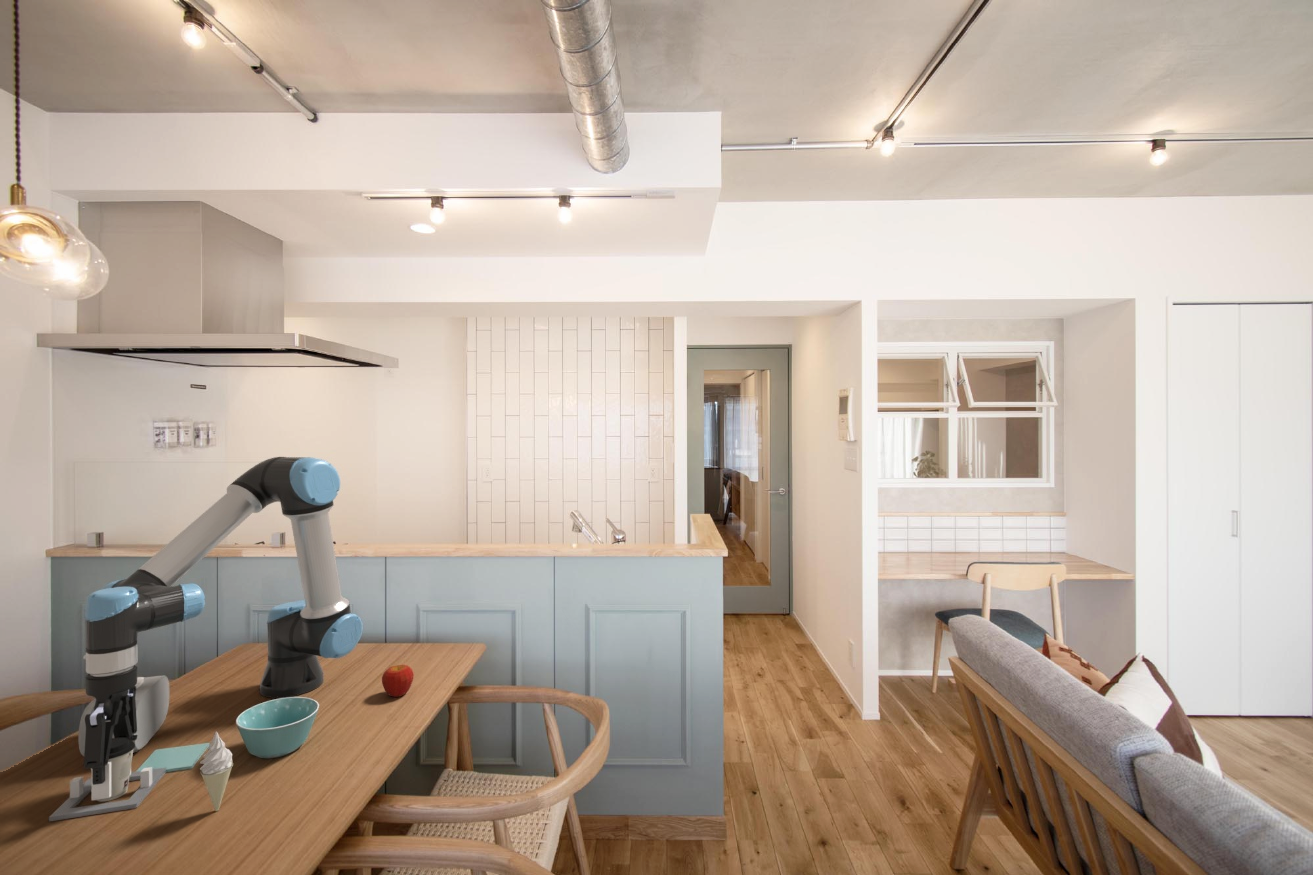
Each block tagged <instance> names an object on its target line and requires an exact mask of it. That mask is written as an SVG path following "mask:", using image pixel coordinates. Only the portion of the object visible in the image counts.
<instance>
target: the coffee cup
mask: <svg viewBox="0 0 1313 875" xmlns="http://www.w3.org/2000/svg"><path fill="white" fill-rule="evenodd" d="M134 748H135V743H134V742H133V741H131V740H128V739H127V738H112V742H111V748H110V754H109V760H108V762H111V797H110V798H105V799H99V800H96V801H97V802H100V803H101V802H102V803H104V802H105V803H106V802H110V801H114V800H116V799H119V798H120V797H123V796H124V795H126V793H128V791H129V790H128V789H129V782H130V781H129V776H130V770H131V771H132V762H133V755H134V754H133V749H134Z"/></svg>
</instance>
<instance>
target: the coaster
mask: <svg viewBox="0 0 1313 875" xmlns="http://www.w3.org/2000/svg"><path fill="white" fill-rule="evenodd" d="M209 745H210V742H205V743H204V742H203V743H197V744H190V745H182V746H174V747H166V748H159V749H158V748H157V749H155V750H154V751H153V752H152V753H151V754H150V755H149V756H148V758H147V759H146V760H145V761H144V762H143V763H142V764H141V765H140V766H139V767H138V768H137V769H136V771H135V772H137V771H142V770H143V768H148V767H152V769H159V768H166V767H167V769H166V773H171V772H172V773H173V772H179V771H185V770H192V769H193V768H194V767H195V766H196V764H197V762H198V761H199V760H200V759H201V757H203V756H204V755H203V754H204V753H205V752H206V751H207V750H208V747H209Z"/></svg>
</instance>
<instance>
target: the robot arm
mask: <svg viewBox="0 0 1313 875" xmlns="http://www.w3.org/2000/svg"><path fill="white" fill-rule="evenodd" d="M340 489H341V479H340V475H339V472H338V471H337V469H336V468H335V466H334V465H332V464H331V463H329V462H328V461H326V460H324V459H322V458H315V457H310V456H308V457H302V456H301V457H295V456H294V457H293V456H292V457H290V456H288V457H287V456H274V457H270V458H267V459H265V460H263V461H261V462H259V463H257V464H255V465H254V466H253V467H251V468H249V469H248V470H246V471H245V472H244V473H242V474H241V475H240V476H238V477H237V478H236V479H235V480H233V482H231V483H230V484H229V485H228V486H227V487H226V493H225V494H224V495H223V496H222V497H221V498H219V499H218V500H217V501H216V502H214V504H212V505H211V506H210V507H209V508H208V509H207V510H205V511H204V512H202V514H200V515H199V516H198V517H197V518H195V519H194V521H193V522H191V523H190V524H189V525H188V526H187V527H186V528H184V530H182V531H180V533H178V534H177V535H176V536H175V537H174V538H173V539H172V540H171V541H169V542H168V543H166V545H165V546H164V547H163V548H161V549H160V550H159V551H158V552H156V553H155V554H154V555H153V556H152V557H151V558H149V559H148V560H147V561H146V562H145V563H143V565H142V566H140V567H139V568H138V569H137V570H135V571H134V572H133V573H132V574H131V575H129V576H128V577H127V578H124V579H118V580H114V581H111V582H110V583H107V584H106V585H105V586H104V587H103V588H102V589H99V590H95V591H93V592H91V593H90V594H89V595H87V597H86V603H85V611H84V612H85V613H84V616H83V618H84V622H85V654H84V655H83V657H82V658H83V660H85V673H87V675H86V676H85V694H86V695H87V696H89V697H93V698H96V702H95V706H94V712H93V714H87V715H86V716H85V725H86V736H85V753H84V756H83V769H84V770H87V769H90V770H91V774H90V775H91V777H90V778H91V787H92V790H91V801H97V800H99V799H105V798H110V797H111V762H108V760H109V754H110V748H111V742H112V736H113V734H114V738H127V739H128V740H131V741H134V740H136V739H137V735H133V734H135V733H136V732H137V718H136V701H135V695H136V686H135V685H136V684H137V677H138V667H137V664H138V658H139V657H138V656H139V654H138V653H139V652H138V635H139V634H138V633H140V632H141V633H142V632H145V631H146V632H147V631H148V630H149V631H150V630H153V629H158V628H161V627H165V626H168V625H173V624H177V623H184V622H185V621H187V620H190V619H193V618H196V617H198V616H200V615H201V614H202V612H203V611H204V609H205V606H206V601H205V599H206V597H205V593H204V591H203V589H202V588H201V587H200V586H199V585H198V584H197V583H192V582H191V583H190V582H189V583H185V584H182V583H181V584H178V585H175V584H176V583H177V582H179V580H181V579H182V578H184V576H185V575H186V574H188V572H189V571H190V570H192V569H193V568H194V567H195V566H196V565H197V564H199V562H201V560H203V558H205V557H206V556H207V555H208V554H210V552H212V550H214V548H216V547H217V546H218V545H219V544H220V543H221V542H223V540H225V539H226V538H227V537H228V536H229V535H230V534H231V533H232V532H233V531H234V530H236V529H237V527H239V526H240V525H241V524H242V523H243V522H244V521H246V520H247V519H248V518H249V517H250V516H251V515H252V514H258V513H260V512H261V511H263V509H265V508H266V507H268V506H269V505H271V504H273V503H278V502H279V503H280V506H281V513H282V515H283V516H284V517H286V518H288V519H289V520H290V523H291V528H292V529H291V530H292V534H293V541H294V546H295V551H296V558H297V559H296V560H297V563H298V569H299V570H298V571H299V575H300V581H301V586H302V592H303V597H304V598H303V599H301V600H296V601H295V600H294V601H290V602H285V603H281V604H279V605H275V606H273V607H272V608H270V609H269V611H268V613H267V614H268V615H267V622H266V625H267V626H266V627H267V663H266V665H265V666H266V667H265V669H264V672H263V675H262V677H261V680H260V684H259V693H260V695H262V696H263V697H266V698H273V699H274V698H276V699H280V698H288V697H296V696H299V695H303V694H306V693H309V692H311V691H313V690H315V689H317V688H319V687H320V686H322V684H323V683H324V671H323V668H322V666H321V663H320V660H319V657H321V658H324V659H341V658H343V657H345V656H347V655H348V654H350V653H351V652H352V651H353V650H354V649H355V648H356V646H357V645H358V642H359V641H360V640H361V637H362V634H363V627H364V624H363V621H362V619H361V617H360V616H358V615H357V614H355V613H352V610H351V605H350V601H349V599H347V598H345V597H344V596H342V590H341V588H342V587H341V583H340V578H339V577H340V576H339V572H338V566H337V559H336V553H335V552H336V551H335V547H334V546H335V545H334V540H333V534H332V528H331V522H330V516H329V512H330V511H331V510H332V508H334V505H335V504H334V500H335V499H336V497H338V492H339V491H340ZM108 720H110V722H105V721H108ZM131 772H132V769H131V770H130V775H131Z"/></svg>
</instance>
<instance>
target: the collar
mask: <svg viewBox="0 0 1313 875" xmlns="http://www.w3.org/2000/svg"><path fill="white" fill-rule="evenodd" d="M166 769H167V767H166V768H159V769H152V767H148V768H143V770H142V771H137V770H136V771H137V772H136V771H131V775H130V776H129V782H133V781H140V784H139V785H140V786H139V787H138V788H137V790H136V791H135V792H134V793H133V794H132V795H131V797H130V798H129V799H123V800H118V801H111V802H110V801H108V802H105V803H104V802H102V803H99V804H92V805H85V806H79V807H78V805H79V804H80V803H81V802H82V801H83V800H84V799H85V798H86V797H88V796H89V794H90V793H92V787H91V777H90V778H87V780H86V781H84V776H77V777H73V778H72V779H70V781H69V797H68V798H67V799H66V800H65V801H64V802H63V803H62V804H61V805H60V806H59V807H58V808H57V809H56V810H55V811H53V813H51V815H49V816H48V821H49V822H55V821H61V820H62V821H63V820H68V819H74V818H81V817H88V816H92V815H93V816H94V815H100V814H105V813H114V812H119V811H125V810H127V811H128V810H132V809H137V808H138V807H139V806H140V805H141V804H142V802H143V801H144V800H145V798H146V797H147V796H148V795H149V794H150V793H151V791H152V790H153V789H154V788H155V787H156V786H157V784H158V783H159V782H160V780H161V779H162V778H163V776H165V774H166V773H167V772H166Z"/></svg>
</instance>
